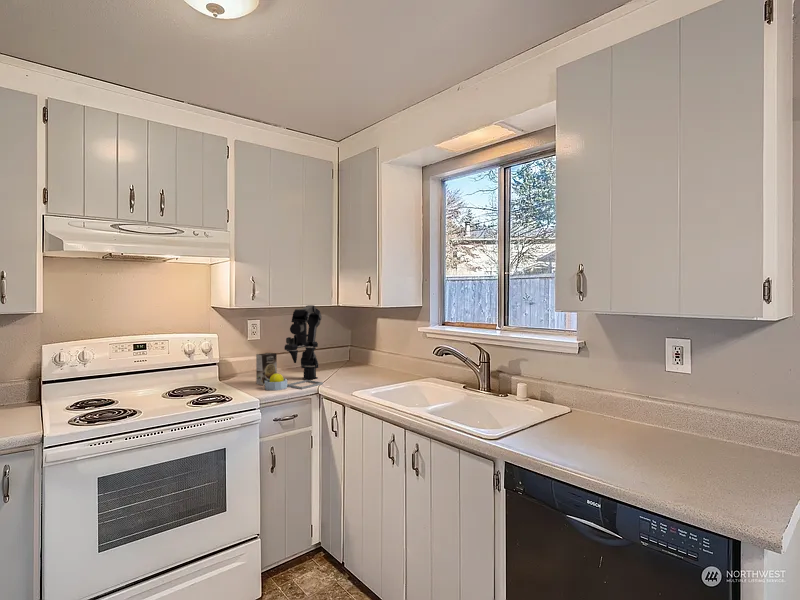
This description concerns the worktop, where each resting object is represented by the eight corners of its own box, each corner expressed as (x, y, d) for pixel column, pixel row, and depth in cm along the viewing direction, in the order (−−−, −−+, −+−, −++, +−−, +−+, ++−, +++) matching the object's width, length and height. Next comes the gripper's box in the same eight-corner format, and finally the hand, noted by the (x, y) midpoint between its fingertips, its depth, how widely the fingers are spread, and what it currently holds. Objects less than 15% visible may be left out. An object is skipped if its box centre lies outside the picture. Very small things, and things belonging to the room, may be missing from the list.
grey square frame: (306, 381, 254) (306, 379, 254) (323, 384, 246) (323, 382, 246) (285, 386, 242) (285, 384, 242) (301, 389, 234) (301, 387, 234)
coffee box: (263, 385, 245) (262, 355, 244) (256, 384, 249) (255, 354, 248) (277, 382, 252) (277, 353, 251) (270, 381, 256) (269, 352, 255)
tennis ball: (267, 386, 239) (267, 373, 238) (280, 385, 243) (280, 371, 243) (273, 389, 233) (272, 375, 233) (286, 387, 237) (285, 373, 237)
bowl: (277, 384, 246) (277, 377, 245) (291, 387, 239) (291, 379, 239) (260, 388, 237) (260, 380, 237) (274, 391, 230) (274, 383, 230)
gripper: (304, 330, 258) (304, 358, 259) (277, 333, 243) (277, 362, 244) (318, 331, 252) (318, 360, 252) (291, 334, 237) (291, 364, 237)
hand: (301, 361), depth 246 cm, fingers open, 9 cm apart
